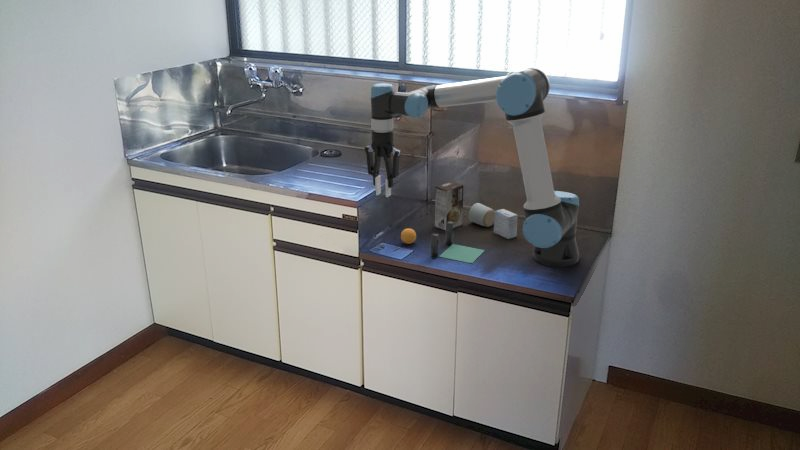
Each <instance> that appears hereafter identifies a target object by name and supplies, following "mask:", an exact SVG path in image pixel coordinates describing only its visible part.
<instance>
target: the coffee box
mask: <svg viewBox="0 0 800 450" xmlns="http://www.w3.org/2000/svg"><path fill="white" fill-rule="evenodd" d="M434 191H435V192H434V193H435V198H434V199H435V200H434V202H435V203H434V206H435V207H434V227H436V228H437V229H441V230H443V231H446V222H447V221H452V222H453V229H454V228H457V227H461V226H462V225H463V222H464V221H463V220H464V219H463V218H464V215H463V213H464V212H463V211H464V184H461V183H459V182H456V181H453V180H451V181H448V182H445V183H442V184H438V185H436V186H435V190H434Z"/></svg>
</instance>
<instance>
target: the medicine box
mask: <svg viewBox="0 0 800 450" xmlns="http://www.w3.org/2000/svg"><path fill="white" fill-rule="evenodd" d="M494 211H495V215H494V223H493V233H494V234H496V235H498V236H501V237H502V238H505V239H507V240H509V239H513V238H516V237H517V236H518V235H517V232H518V230H517V229H518V216H519V215H518V214H517V213H515V212H512V211H510V210H507V209H505V208H502V209H497V210H494Z"/></svg>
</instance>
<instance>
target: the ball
mask: <svg viewBox="0 0 800 450" xmlns="http://www.w3.org/2000/svg"><path fill="white" fill-rule="evenodd" d="M400 239H401V241H402V242H403V243H404V244H409V245H410V244H413V243H414V242H415V241H416V239H417V233H416V231H415V230H414V229H413V228H405V229H403V230H402V231H401V233H400Z"/></svg>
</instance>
